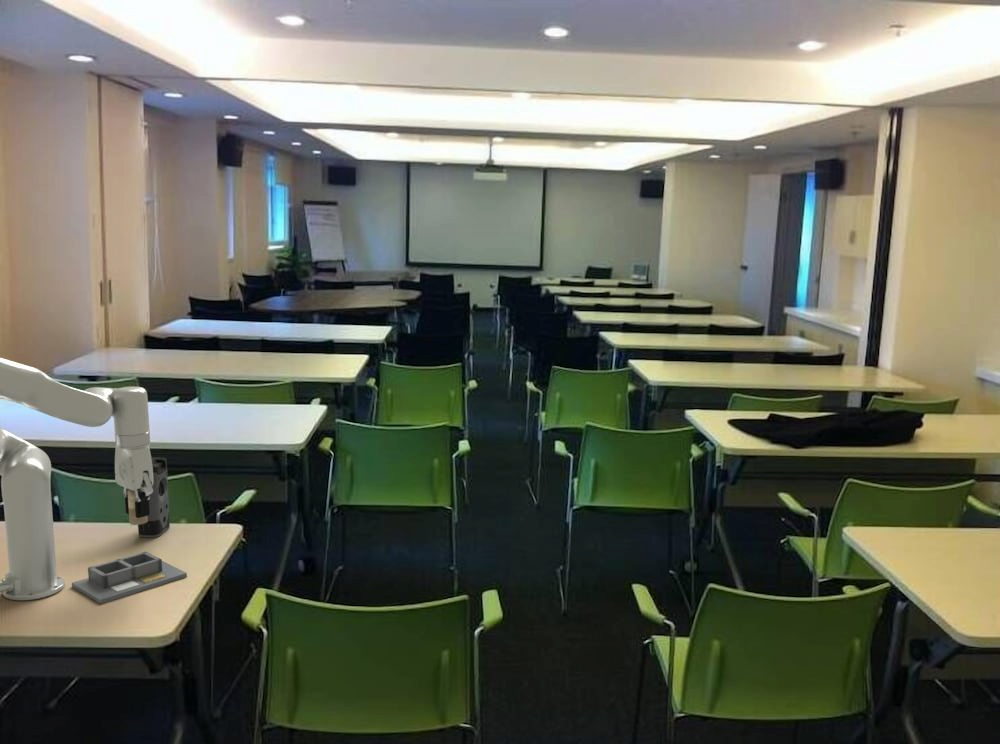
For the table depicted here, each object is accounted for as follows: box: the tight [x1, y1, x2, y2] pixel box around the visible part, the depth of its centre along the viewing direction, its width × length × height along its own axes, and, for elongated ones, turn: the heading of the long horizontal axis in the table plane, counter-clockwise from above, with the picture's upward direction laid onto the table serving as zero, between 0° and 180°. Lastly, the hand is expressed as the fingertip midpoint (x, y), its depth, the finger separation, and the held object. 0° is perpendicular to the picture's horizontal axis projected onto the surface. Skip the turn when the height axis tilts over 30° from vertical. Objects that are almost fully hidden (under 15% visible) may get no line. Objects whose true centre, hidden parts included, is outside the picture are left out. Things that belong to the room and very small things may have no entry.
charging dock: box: [71, 551, 188, 605], centre depth 208 cm, size 21×14×4 cm, turn 140°
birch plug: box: [127, 487, 148, 526], centre depth 209 cm, size 4×4×8 cm
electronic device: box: [137, 456, 171, 539], centre depth 240 cm, size 9×6×20 cm, turn 179°
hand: (137, 513), depth 209 cm, fingers closed on birch plug, 4 cm apart
